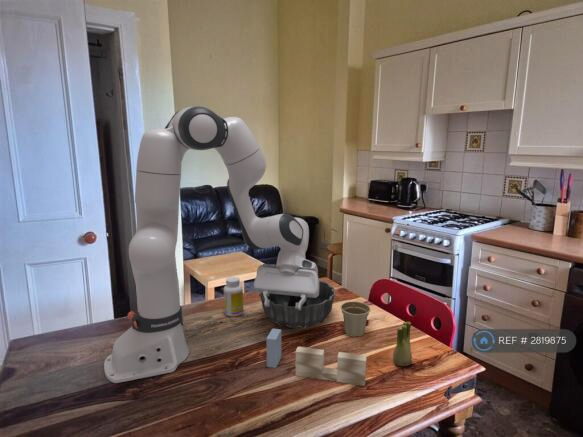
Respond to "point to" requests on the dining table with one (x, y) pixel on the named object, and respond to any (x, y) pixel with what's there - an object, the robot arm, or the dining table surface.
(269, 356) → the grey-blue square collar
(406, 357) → the fennel bulb
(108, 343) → the dining table surface
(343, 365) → the beech slot board
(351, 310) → the flower pot
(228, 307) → the supplement bottle
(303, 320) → the bundt pan
